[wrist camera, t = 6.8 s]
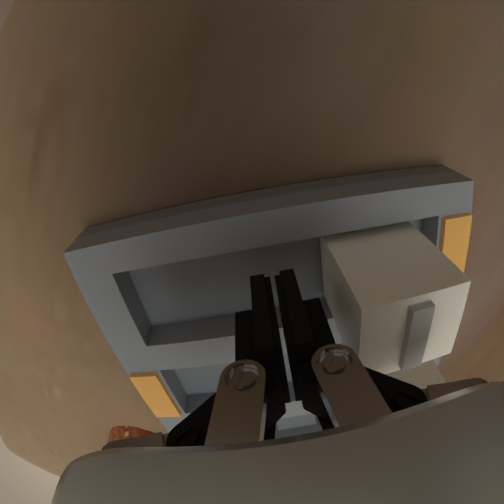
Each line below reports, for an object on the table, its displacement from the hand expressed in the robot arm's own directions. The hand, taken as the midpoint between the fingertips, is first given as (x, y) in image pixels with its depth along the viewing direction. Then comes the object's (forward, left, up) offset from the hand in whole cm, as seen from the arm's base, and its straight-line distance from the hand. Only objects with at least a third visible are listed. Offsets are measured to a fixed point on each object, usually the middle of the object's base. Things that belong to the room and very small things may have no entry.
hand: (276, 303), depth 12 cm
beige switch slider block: (0, +4, -2) cm, 5 cm away
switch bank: (+6, 0, -4) cm, 7 cm away
